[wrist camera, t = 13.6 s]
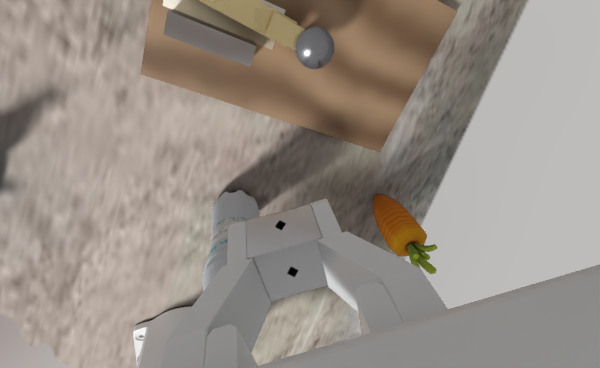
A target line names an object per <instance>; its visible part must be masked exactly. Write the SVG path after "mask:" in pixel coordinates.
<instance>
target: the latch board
mask: <svg viewBox="0 0 600 368" xmlns="http://www.w3.org/2000/svg"><path fill="white" fill-rule="evenodd" d="M259 1H261V2H263V3H265V4H266V5H268V6H270V7H272V8H273V9H275V10H277V11H278V12H280V13H282V14H284V15H285V16H287V17H289V18H291V19H292V20H294V21H296V22H297V25H298V26H300V27H302V28H304V29H306V28H308V27H312V26H316V27H320V28H323V29H325V30H326V31H328V32H329V33H330V35H331V36H332V38H333V41H334V54H333V56H332V59H331V60H330V62H329V63H328V64H327V65H325V66H324V67H322V68H319V69H310V68H307V67H305V66H304V65H303V64H302V63H301V62H300V61H299V60H298V58H297V56H296V53H295V50H293V49H292V48H290V47H288V46H287V47H284V46H283V45H281V44H279V43H277V42H275V41H273V40H271V39H269V38H268V37H266V36H264V35H262V34H260V33H258V32H256V31H255V30H253V29H251V28H249V27H247V26H245V25H243V24H241V23H240V22H238V21H236V20H234V19H232V18H230V17H228V16H226V15H225V14H223V13H221V12H219V11H217V10H215V9H213V8H212V7H210V6H208V5H206V4H204V3H202V2H200V1H198V0H152V2H151V9H150V15H149V22H148V29H147V35H146V42H145V49H144V55H143V62H142V69H141V74H142V75H145V76H148V77H151V78H154V79H157V80H161V81H164V82H167V83H170V84H173V85H176V86H179V87H182V88H185V89H188V90H191V91H194V92H197V93H200V94H203V95H207V96H210V97H213V98H216V99H219V100H222V101H225V102H228V103H231V104H234V105H237V106H240V107H243V108H246V109H249V110H252V111H256V112H259V113H262V114H265V115H268V116H271V117H274V118H277V119H280V120H283V121H286V122H289V123H292V124H295V125H298V126H301V127H305V128H308V129H311V130H314V131H317V132H320V133H323V134H326V135H329V136H332V137H335V138H338V139H341V140H344V141H347V142H351V143H354V144H357V145H360V146H363V147H366V148H369V149H372V150H375V151H378V152H380V150H381V148H382V146H383V145H384V143H385V141H386V139H387V137H388V136H389V134H390V132H391V130H392V128H393V127H394V125H395V123H396V121H397V119H398V118H399V116H400V114H401V112H402V110H403V109H404V107H405V105H406V103H407V101H408V100H409V98H410V96H411V94H412V92H413V91H414V89H415V87H416V85H417V83H418V82H419V80H420V78H421V76H422V74H423V73H424V71H425V69H426V67H427V65H428V64H429V62H430V60H431V58H432V56H433V55H434V53H435V51H436V49H437V47H438V46H439V44H440V42H441V40H442V38H443V37H444V35H445V33H446V31H447V29H448V28H449V26H450V24H451V22H452V20H453V19H454V17H455V15H456V13H457V11H455V10H454V9H452V8H450V7H448V6H447V5H445V4H443V3H442V2H440V1H438V0H259Z"/></svg>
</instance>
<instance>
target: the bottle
mask: <svg viewBox="0 0 600 368" xmlns="http://www.w3.org/2000/svg"><path fill="white" fill-rule="evenodd" d="M258 217H259V209H258V205H257V202H256V200H255V199H254V198H253V197H252V196H248V195H247V194H245V192H244V191H242V190H237V192H234V193H229V192H228V191H227V192H224V193H223V194H222V195H221V196H220V198H219V199H218V200H217V201H216V202H215V203H214V205H213V208H212V215H211V240H210V250H209V259H208V261H207V262H206V264H205V267H204V274H203V278H202V283H203V291H204V290H205V289H206V287H207V286H208V285H209V283H210V282H211V281H212V279H213V278H214V277H215V275H216V274H217V273H218V271H219V270H220V269H221V267H222V266H226V265H227V251H228V228H229V226H230V225H232V224H236V223H239V222H243V221H247V220H251V219H254V218H258Z"/></svg>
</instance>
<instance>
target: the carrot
mask: <svg viewBox="0 0 600 368" xmlns="http://www.w3.org/2000/svg"><path fill="white" fill-rule="evenodd" d="M373 213H374V216H375V220H376V223H377V226H378V228H379V230H380V232H381V234H382V236H383V237H384V239H385V241H386V243H387V244H388V246H389V247H390V248H391V249H392V250H393V251H394V252H395V253H396V254H397V255H398V256H409V257H410V260H411V263H412V264H413V265H415V266H417V267H419V265H418V263H419V264H420V265H421V266H422V267H423V268H424V269H425V270H426V271H427V272H429V273H430V274H433V273H435V272H436V268H435V267H433V266H432V265H431V264H430V263H428V262H427V261H426V260H428V259H430V256H429V255H428V254H426V253H425V251H426V252H430V251H433V250H435V249H437V246H436V245H435V244H434V245H430V246H424V243H425V240H426V238H427V235H426V233H425V231H424V230H423V229H422V228H421V226H420V225H419V224H418V223H417V222H416V220H415V219H414V218H413V217H412V216H411V215H410V214H409V212H408V211H407V210H406V209H405V208H404V207H403V206H402V205H400V204H399V203H398V202H396V201H395V200H394V199H392V198H390V197H388V196H385V195H381V194H377V195H375V196H374V201H373ZM419 268H420V267H419Z"/></svg>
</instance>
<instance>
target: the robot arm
mask: <svg viewBox="0 0 600 368" xmlns="http://www.w3.org/2000/svg"><path fill="white" fill-rule="evenodd" d="M324 286H328V287H329V288H330V289H332V290H333V291H334V292H335V293H336V294H338V295H339V296H340V297H341V298H342V299H343V300H345V301H346V302H347V303H348V304H349V305H350V306H352V307H353V308H354V309H355V310H356V311H358V312H359V318H360V325H361V331H362V335H361V336H358V337H354V338H351V339H348V340H344V341H341V342H337V343H334V344H331V345H327V346H324V347H321V348H317V349H314V350H310V351H307V352H304V353H300V354H297V355H294V356H290V357H287V358H283V359H280V360H277V361H273V362H270V363H267V364H263V365H260V366H258V365H257V363H256V361H255V360H254V358H253V356H252V354H251V352H252V349H253V347H254V345H255V342H256V340H257V337H258V335H259V333H260V330H261V328H262V325H263V323H264V321H265V318H266V316H267V313H268V311H269V309H270V306H271V304H272V303H271V302H272V301H276V300H279V299H282V298H285V297H288V296H291V295H294V294H298V293H299V292H300V293H301V292H305V291H309V290H313V289H316V288H320V287H324ZM133 336H134V344H135V352H136V359H137V368H600V265H596V266H593V267H590V268H586V269H583V270H580V271H576V272H573V273H570V274H566V275H563V276H559V277H556V278H553V279H549V280H546V281H543V282H539V283H536V284H532V285H529V286H526V287H522V288H519V289H516V290H512V291H509V292H506V293H502V294H499V295H495V296H492V297H489V298H485V299H482V300H479V301H475V302H472V303H468V304H465V305H462V306H458V307H455V308H451V309H447V307H446V306H445V304H444V303H443V301H442V300H441V298H440V297H439V295H438V294H437V292H436V291H435V290H434V288H433V287H432V285H431V284H430V282H429V281H428V279H427V278H426V276H425V275H424V273H423V272H422V270H421V269H420V268H419V267H417V266H415V265H413V264H411V263H409V262H407V261H405V260H403V259H401V258H399V257H397V256H395V255H393V254H391V253H389V252H387V251H385V250H383V249H381V248H379V247H377V246H375V245H374V244H372V243H370V242H368V241H366V240H364V239H362V238H360V237H358V236H356V235H354V234H352V233H350V232H348V231H346V232H342V231H341V228H340V226H339V224H338V222H337V220H336V217H335V215H334V213H333V211H332V209H331V206H330V204H329V202H328V200H327V199H326V198H325V199H322V200H319V201H316V202H312V203H310V204H308V205H304V206H300V207H297V208H293V209H290V210H286V211H283V212H278V213H274V214H270V215H266V216H262V217H258V218H254V219H251V220H247V221H243V222H239V223H236V224H232V225H230V226H229V228H228V251H227V265H226V266H222V267H221V269H220V270H219V271H218V273H217V274H216V275H215V277H214V278H213V279H212V281H211V282H210V283H209V285H208V286H207V287H206V289H205V290H204V291H203V293H202V294H201V295H200V297H199V298H198V299H197V301H196V302H195V303H194V305H193V306H192V307H182V308H177V309H173V310H170V311H167V312H165V313H163V314H161V315H159V316H158V317H156V318H155V319H153V320H151V321H148V322H144V323H141V324H138V325H136V326H135V327H134V331H133Z"/></svg>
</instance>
